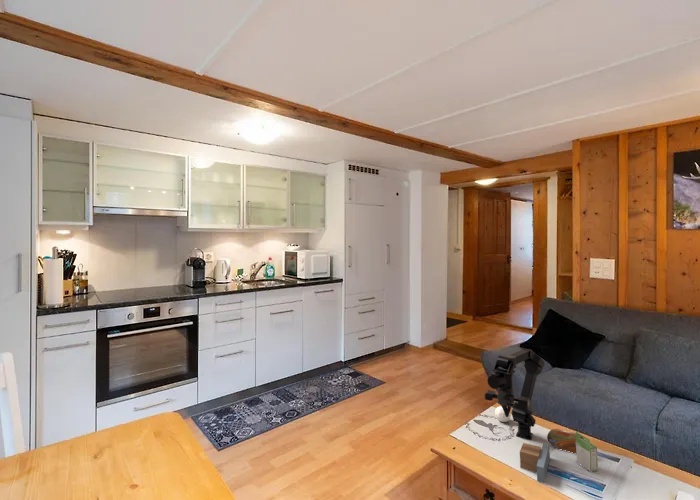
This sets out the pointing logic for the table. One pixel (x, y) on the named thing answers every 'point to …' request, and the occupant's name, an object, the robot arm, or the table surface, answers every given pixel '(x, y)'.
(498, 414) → the geometric ball
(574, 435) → the tin
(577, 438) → the ink box
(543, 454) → the slate board
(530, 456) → the walnut block
